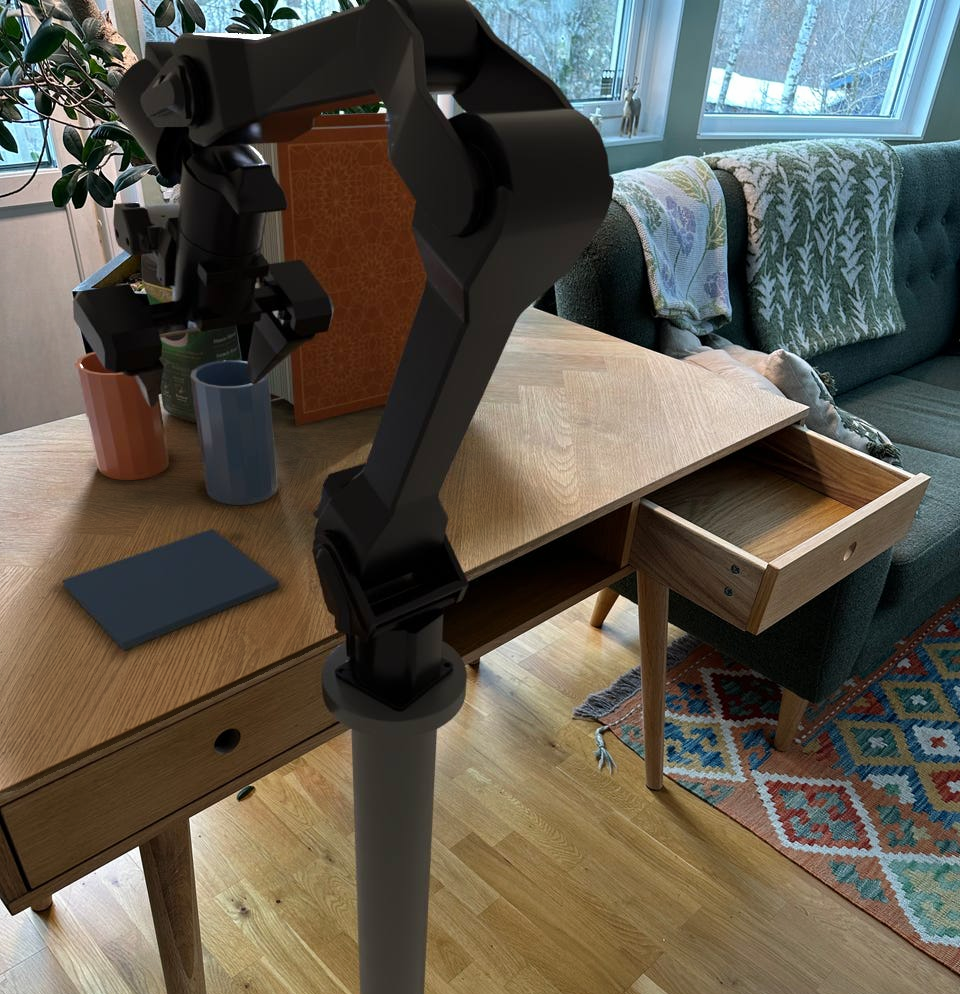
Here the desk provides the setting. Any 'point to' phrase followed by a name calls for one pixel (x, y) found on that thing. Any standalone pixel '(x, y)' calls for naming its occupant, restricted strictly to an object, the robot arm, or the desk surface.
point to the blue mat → (168, 587)
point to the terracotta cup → (121, 423)
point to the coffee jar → (185, 350)
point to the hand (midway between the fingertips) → (202, 391)
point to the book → (345, 261)
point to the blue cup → (235, 433)
